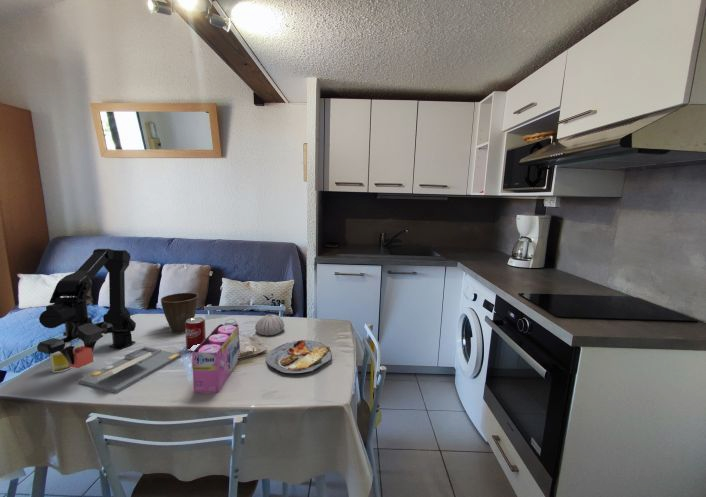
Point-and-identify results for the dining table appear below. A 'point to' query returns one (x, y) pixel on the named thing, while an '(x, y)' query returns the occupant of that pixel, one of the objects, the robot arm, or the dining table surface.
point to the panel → (129, 372)
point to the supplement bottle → (59, 362)
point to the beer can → (230, 322)
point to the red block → (82, 356)
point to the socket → (131, 355)
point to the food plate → (299, 356)
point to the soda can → (195, 331)
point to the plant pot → (179, 309)
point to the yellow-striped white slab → (123, 366)
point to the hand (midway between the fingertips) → (80, 360)
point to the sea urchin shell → (269, 325)
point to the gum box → (215, 358)
